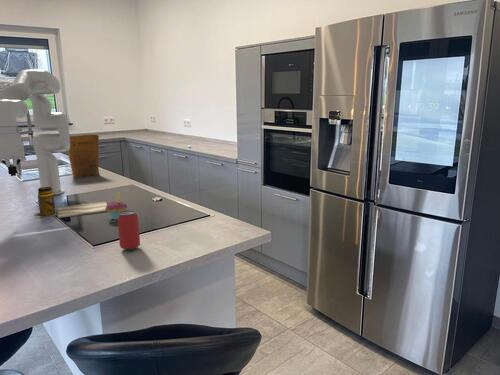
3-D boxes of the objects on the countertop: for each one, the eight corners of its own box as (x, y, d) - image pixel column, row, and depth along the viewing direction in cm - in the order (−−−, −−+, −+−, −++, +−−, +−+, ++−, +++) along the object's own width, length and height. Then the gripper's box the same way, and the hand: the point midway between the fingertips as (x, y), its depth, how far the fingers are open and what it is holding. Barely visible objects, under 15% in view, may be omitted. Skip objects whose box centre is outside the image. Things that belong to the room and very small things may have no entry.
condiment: (57, 215, 166) (54, 188, 163) (35, 218, 162) (31, 190, 159) (55, 211, 172) (52, 185, 169) (34, 214, 168) (30, 187, 165)
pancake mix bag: (102, 178, 246) (98, 134, 240) (70, 180, 239) (65, 136, 233) (102, 176, 252) (98, 134, 246) (70, 178, 245) (65, 135, 239)
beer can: (122, 243, 132) (119, 210, 130) (141, 242, 133) (139, 209, 130) (117, 250, 126) (114, 215, 123) (138, 249, 126) (135, 215, 124)
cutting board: (57, 208, 176) (57, 207, 176) (105, 203, 185) (105, 201, 185) (58, 217, 162) (57, 216, 162) (110, 211, 171) (109, 209, 171)
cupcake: (131, 216, 164) (129, 188, 161) (119, 221, 156) (116, 193, 153) (115, 214, 167) (113, 187, 164) (102, 219, 159) (99, 191, 156)
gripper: (28, 130, 161) (34, 172, 165) (-14, 131, 154) (-7, 175, 158) (27, 130, 154) (33, 175, 158) (-17, 132, 148) (-10, 178, 151)
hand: (13, 175), depth 158 cm, fingers closed
